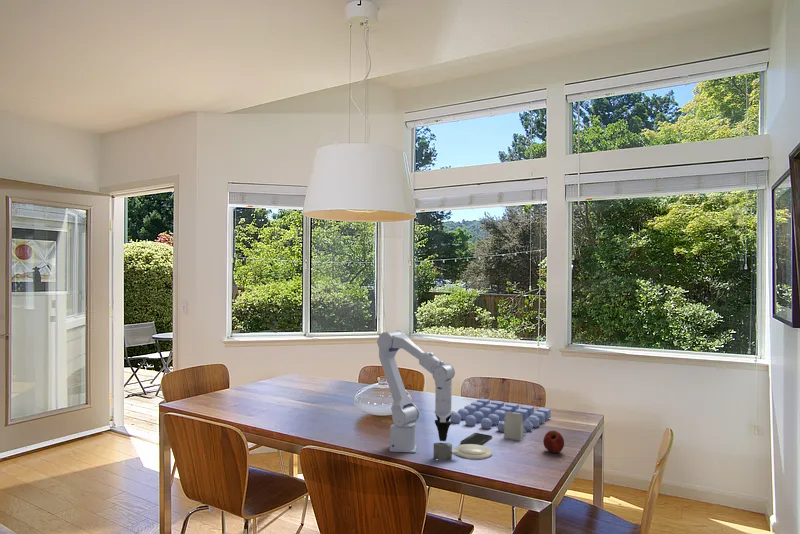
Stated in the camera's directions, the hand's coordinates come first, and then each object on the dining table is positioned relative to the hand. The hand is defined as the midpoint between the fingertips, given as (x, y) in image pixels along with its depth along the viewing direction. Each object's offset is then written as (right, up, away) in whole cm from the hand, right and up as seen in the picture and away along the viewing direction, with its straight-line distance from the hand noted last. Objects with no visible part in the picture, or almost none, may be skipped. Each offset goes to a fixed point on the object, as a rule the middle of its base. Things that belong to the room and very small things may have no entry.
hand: (443, 437), depth 182 cm
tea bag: (+31, -9, +25) cm, 40 cm away
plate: (+12, -8, +7) cm, 15 cm away
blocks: (+30, -10, +50) cm, 59 cm away
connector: (0, -8, 0) cm, 8 cm away
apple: (+42, -9, +9) cm, 44 cm away
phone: (+15, -9, +20) cm, 27 cm away
